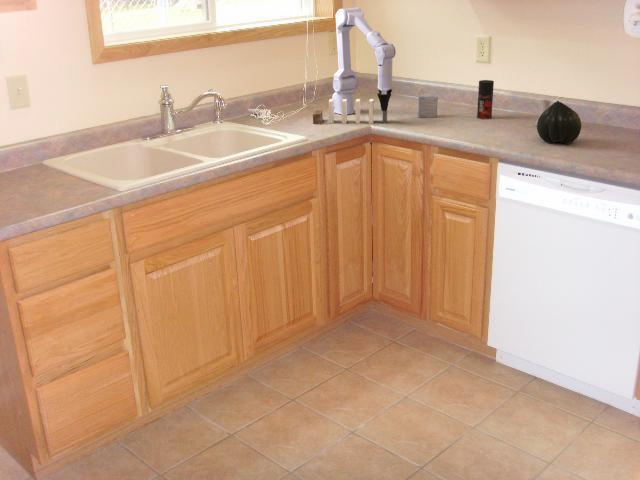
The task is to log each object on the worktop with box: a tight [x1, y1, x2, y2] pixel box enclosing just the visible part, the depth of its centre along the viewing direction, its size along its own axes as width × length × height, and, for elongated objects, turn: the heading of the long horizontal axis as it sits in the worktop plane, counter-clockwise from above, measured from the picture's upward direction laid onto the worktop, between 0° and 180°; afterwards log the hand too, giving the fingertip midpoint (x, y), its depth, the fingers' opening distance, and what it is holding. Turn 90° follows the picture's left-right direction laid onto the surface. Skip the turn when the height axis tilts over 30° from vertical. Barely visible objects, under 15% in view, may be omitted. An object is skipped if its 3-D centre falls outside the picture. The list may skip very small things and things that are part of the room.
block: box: [312, 109, 324, 125], centre depth 308 cm, size 3×8×4 cm, turn 173°
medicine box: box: [417, 94, 439, 118], centre depth 311 cm, size 8×4×9 cm, turn 84°
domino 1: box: [328, 98, 335, 124], centre depth 306 cm, size 2×5×9 cm, turn 173°
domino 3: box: [354, 98, 361, 124], centre depth 305 cm, size 2×5×9 cm, turn 173°
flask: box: [534, 99, 552, 128], centre depth 290 cm, size 7×7×10 cm
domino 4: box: [368, 98, 375, 124], centre depth 304 cm, size 2×5×9 cm, turn 173°
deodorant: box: [476, 79, 495, 120], centre depth 305 cm, size 6×6×15 cm
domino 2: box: [341, 99, 348, 124], centre depth 306 cm, size 2×5×9 cm, turn 173°
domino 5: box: [382, 110, 388, 124], centre depth 304 cm, size 2×5×9 cm, turn 173°
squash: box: [536, 100, 582, 145], centre depth 267 cm, size 14×15×15 cm
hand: (384, 108), depth 303 cm, fingers open, 7 cm apart
